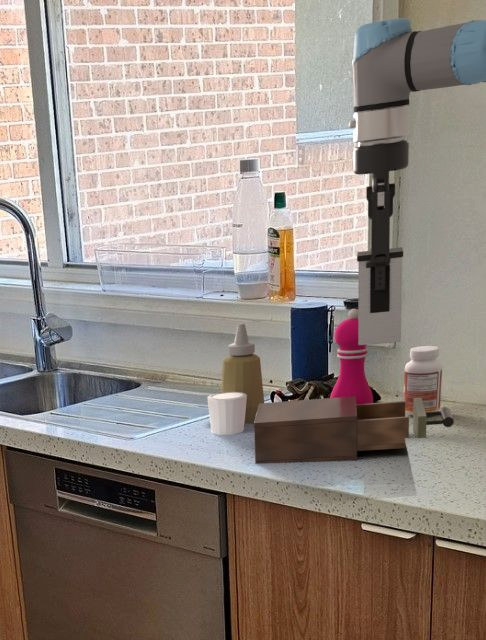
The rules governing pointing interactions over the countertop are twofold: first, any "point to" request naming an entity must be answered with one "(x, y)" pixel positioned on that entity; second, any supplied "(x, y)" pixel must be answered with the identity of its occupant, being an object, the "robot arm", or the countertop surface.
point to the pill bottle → (423, 379)
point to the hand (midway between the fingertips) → (379, 308)
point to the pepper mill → (351, 362)
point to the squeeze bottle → (243, 373)
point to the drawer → (393, 424)
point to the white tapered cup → (227, 412)
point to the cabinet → (306, 431)
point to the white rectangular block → (383, 323)
